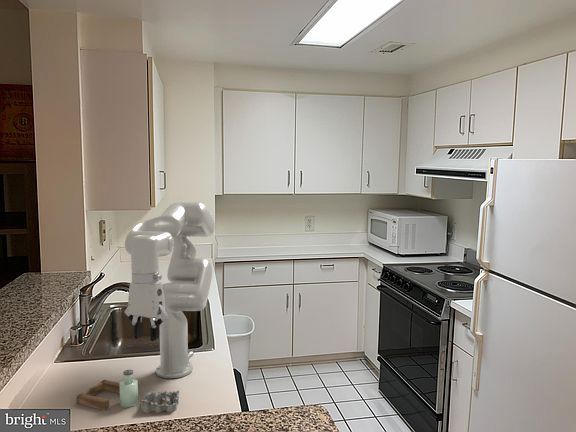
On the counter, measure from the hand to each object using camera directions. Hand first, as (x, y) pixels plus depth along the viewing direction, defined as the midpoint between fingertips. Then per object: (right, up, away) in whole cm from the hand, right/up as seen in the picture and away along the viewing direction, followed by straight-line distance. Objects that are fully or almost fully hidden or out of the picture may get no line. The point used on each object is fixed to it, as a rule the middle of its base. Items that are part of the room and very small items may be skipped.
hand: (146, 337), depth 133 cm
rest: (-15, -21, +7) cm, 27 cm away
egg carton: (+3, -22, +3) cm, 22 cm away
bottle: (-7, -21, +4) cm, 23 cm away
